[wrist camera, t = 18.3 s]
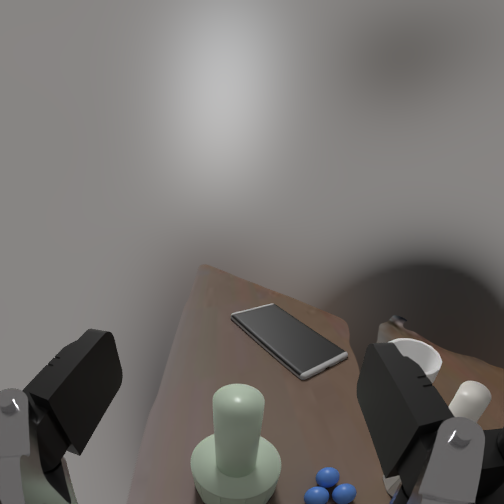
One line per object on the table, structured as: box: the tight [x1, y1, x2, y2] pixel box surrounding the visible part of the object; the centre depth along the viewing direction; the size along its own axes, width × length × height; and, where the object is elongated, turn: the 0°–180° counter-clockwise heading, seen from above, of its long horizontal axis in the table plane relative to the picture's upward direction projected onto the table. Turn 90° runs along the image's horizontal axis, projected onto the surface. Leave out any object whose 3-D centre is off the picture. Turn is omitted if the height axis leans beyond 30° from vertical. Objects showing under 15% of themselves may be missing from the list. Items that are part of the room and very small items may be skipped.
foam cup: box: [389, 338, 442, 383], centre depth 36 cm, size 10×9×13 cm
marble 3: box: [332, 484, 356, 504], centre depth 24 cm, size 3×3×3 cm
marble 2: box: [304, 487, 329, 504], centre depth 24 cm, size 3×3×3 cm
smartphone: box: [231, 304, 348, 380], centre depth 62 cm, size 13×27×2 cm, turn 33°
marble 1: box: [316, 467, 339, 488], centre depth 26 cm, size 3×3×3 cm
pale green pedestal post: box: [191, 384, 281, 504], centre depth 25 cm, size 10×10×17 cm
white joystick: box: [383, 381, 491, 497], centre depth 22 cm, size 10×10×17 cm
